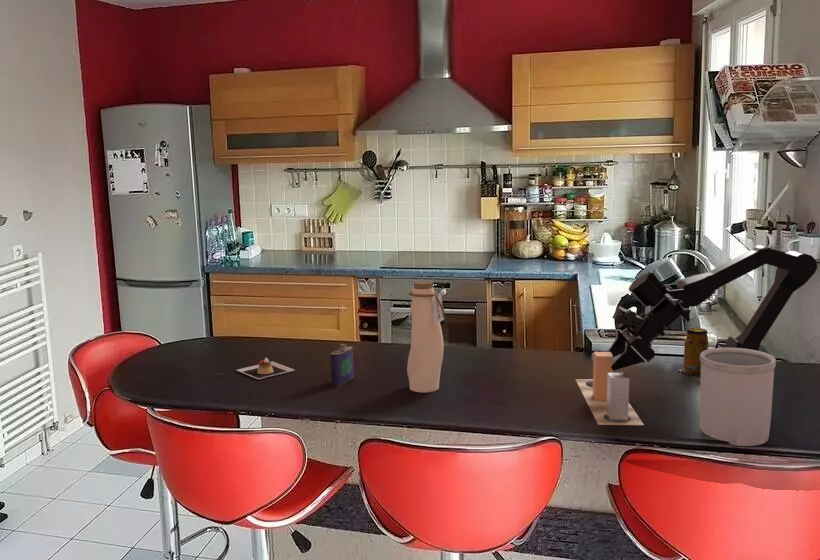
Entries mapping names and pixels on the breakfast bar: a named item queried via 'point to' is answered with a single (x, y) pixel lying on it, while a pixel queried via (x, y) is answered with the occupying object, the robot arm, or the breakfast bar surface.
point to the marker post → (601, 374)
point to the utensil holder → (736, 395)
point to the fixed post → (617, 396)
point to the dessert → (266, 368)
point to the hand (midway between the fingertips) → (608, 363)
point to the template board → (604, 406)
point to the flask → (342, 366)
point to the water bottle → (425, 338)
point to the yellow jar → (694, 350)
